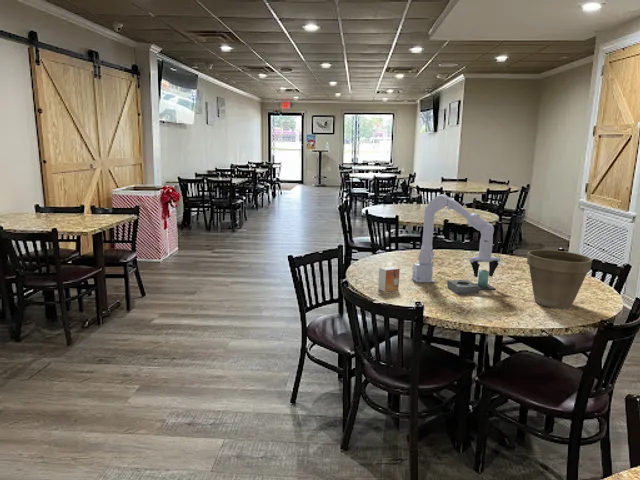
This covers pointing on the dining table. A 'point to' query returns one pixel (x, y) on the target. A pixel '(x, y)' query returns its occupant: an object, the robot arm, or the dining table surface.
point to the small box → (388, 279)
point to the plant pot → (557, 276)
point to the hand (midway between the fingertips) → (483, 276)
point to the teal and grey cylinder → (483, 278)
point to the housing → (463, 287)
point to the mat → (486, 288)
